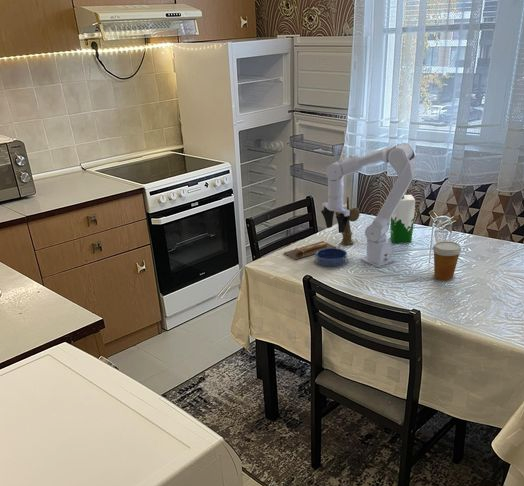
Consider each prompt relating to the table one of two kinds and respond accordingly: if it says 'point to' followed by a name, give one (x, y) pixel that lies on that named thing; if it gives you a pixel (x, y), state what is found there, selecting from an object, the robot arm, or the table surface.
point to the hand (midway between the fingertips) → (335, 229)
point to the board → (300, 255)
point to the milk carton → (403, 220)
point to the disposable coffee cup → (445, 259)
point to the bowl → (331, 257)
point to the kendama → (353, 217)
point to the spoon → (310, 247)
